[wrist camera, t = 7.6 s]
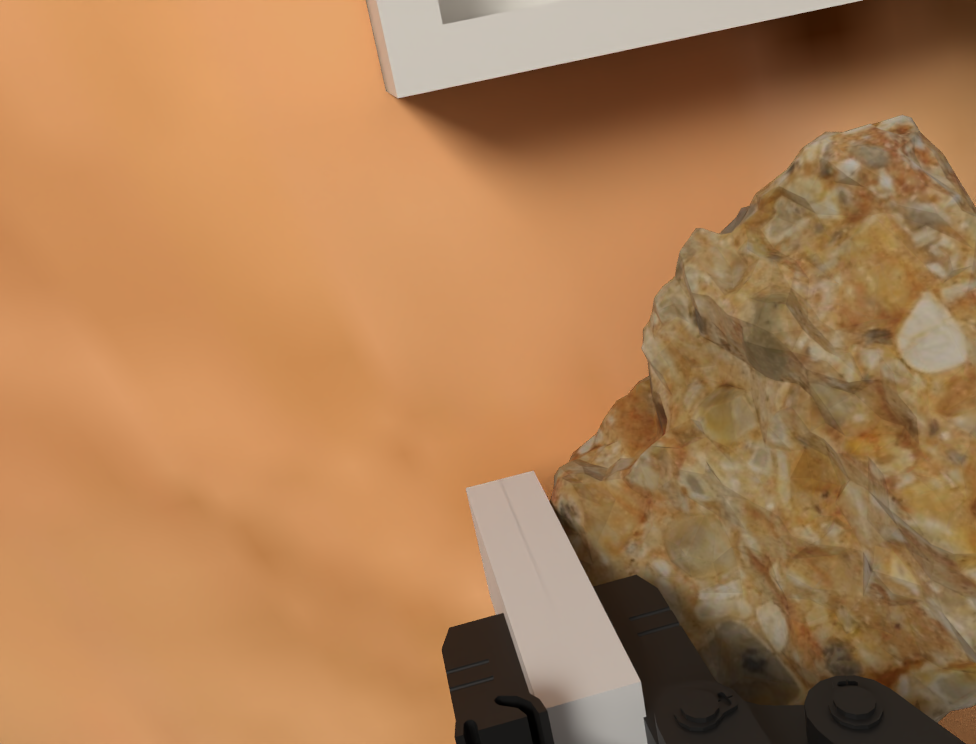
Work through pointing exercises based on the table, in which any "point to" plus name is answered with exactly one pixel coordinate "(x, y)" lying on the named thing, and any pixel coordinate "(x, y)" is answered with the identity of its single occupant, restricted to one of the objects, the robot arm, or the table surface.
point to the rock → (807, 433)
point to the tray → (539, 33)
